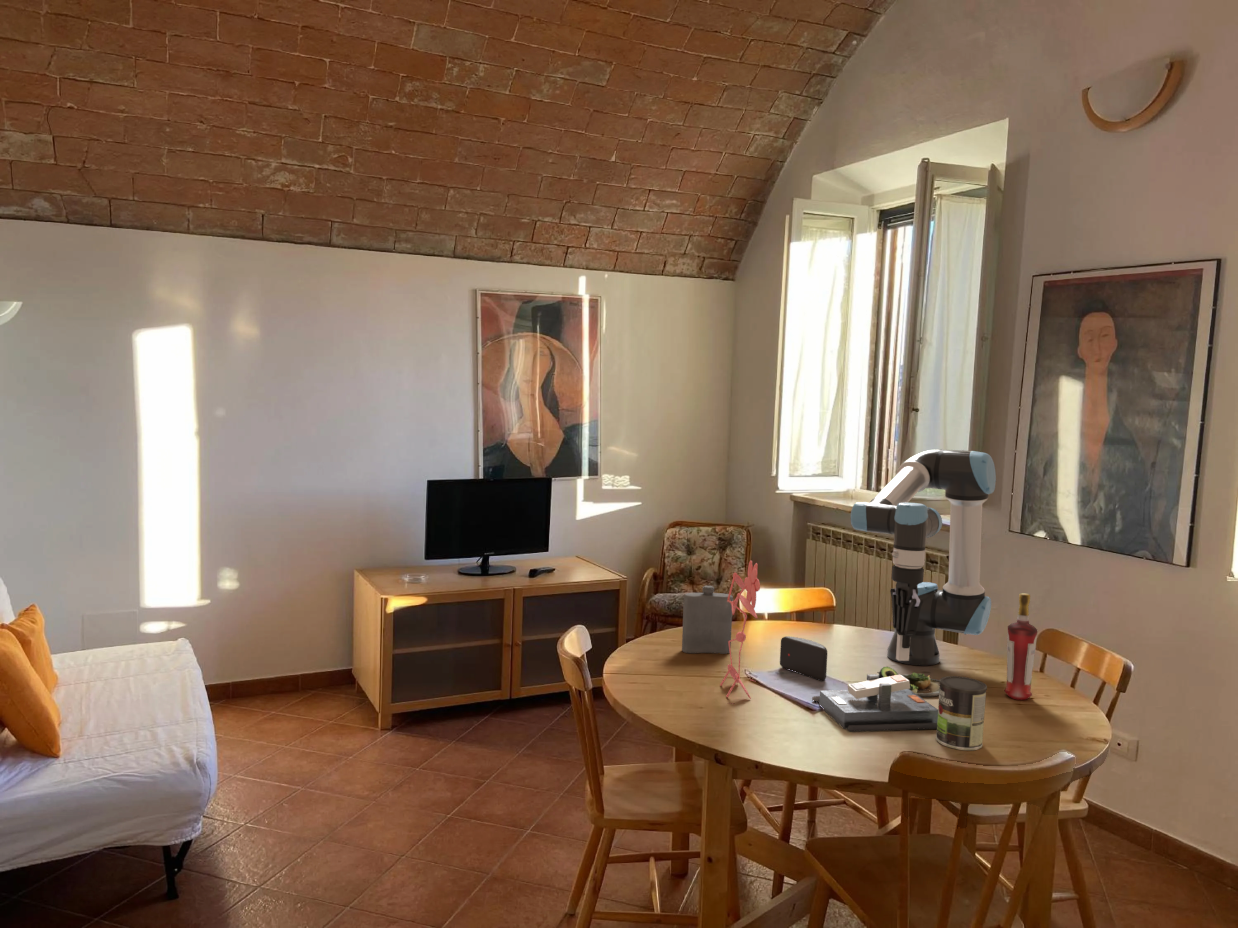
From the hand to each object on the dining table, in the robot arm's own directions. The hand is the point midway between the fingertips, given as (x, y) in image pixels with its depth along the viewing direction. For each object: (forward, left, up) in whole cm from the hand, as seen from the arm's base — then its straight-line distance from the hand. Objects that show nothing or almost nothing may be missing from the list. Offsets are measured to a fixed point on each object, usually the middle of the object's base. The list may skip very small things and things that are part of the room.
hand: (902, 659), depth 229 cm
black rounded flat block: (+13, -34, -15) cm, 39 cm away
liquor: (-39, -11, -15) cm, 43 cm away
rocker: (+6, 0, -7) cm, 9 cm away
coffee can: (-6, +18, -15) cm, 24 cm away
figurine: (+33, -20, -15) cm, 41 cm away
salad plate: (-12, -21, -15) cm, 29 cm away
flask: (+35, -58, -15) cm, 69 cm away
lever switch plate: (+6, 0, -14) cm, 15 cm away
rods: (+7, -1, -14) cm, 16 cm away
